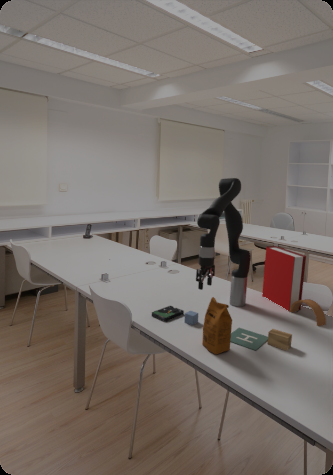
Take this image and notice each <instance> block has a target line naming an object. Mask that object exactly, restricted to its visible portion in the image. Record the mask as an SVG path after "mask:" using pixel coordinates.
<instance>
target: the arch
mask: <svg viewBox="0 0 333 475" xmlns="http://www.w3.org/2000/svg"><path fill="white" fill-rule="evenodd" d="M302 304H306V305H308V307H309V308H310V309H311V310H312V312H313V313H314V315H315V319H316V327H321V326H326V324H327V321H326V320H327V319H326V315H325V312H324V310H323V308H322V307H321V306H320V304H318V302H316V301H314V300H313V299H311V298H310V299H308V298H307V299H302V300H299V301H296V302H294V303H293V304H292V306H291V308H290V310H289V313H290V312H293V313H296V312H295V311H298V312H299V306H300V305H301V306H302Z"/></svg>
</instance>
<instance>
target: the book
mask: <svg viewBox="0 0 333 475" xmlns="http://www.w3.org/2000/svg"><path fill="white" fill-rule="evenodd" d="M264 259H265V260H264V270H263V282H262V293H263V294H261V296H262V297H263V298H264V297H266V298H268V299H269V300H268V299H267V300H268V301H270V300H271V301H272V302H271V301H270V302H271V303H273V302H274V303H273V304H275V303H276V304H278V305H280V306H282V307H283V308H285V309H286V310H285V309H284V310H285V311H287V310H288V311H287V312H290V308H291V306H292V304H293V303H294V302H296V301H299V300H303V299H302V298H303V290H304V289H303V288H304V280H305V278H304V277H305V271H306V270H305V269H306V259H307V256H306V255H304V254H301V253H297V252H295V251H292V250H289V249H286V248H283V247H279V246H277V245H269V246H267V245H266V247H265V258H264ZM266 298H265V299H266ZM276 304H275V305H276ZM278 305H277V306H278ZM280 306H279V307H280ZM301 306H302V304H301V305H300V306H299V309H298V311H301V308H302V307H301ZM282 307H281V308H282ZM283 308H282V309H283Z"/></svg>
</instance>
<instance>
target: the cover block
mask: <svg viewBox="0 0 333 475" xmlns="http://www.w3.org/2000/svg"><path fill="white" fill-rule="evenodd" d="M267 337H268V340H267V343H266V344H267V345H268V346H272V347H275V348H278V349H281V350H283V351H287V352H288V350H289V349H291V347H292V342H293V341H292V339H293V334H292V333H289V332H286V331H282V330H279V329H276V328H271V329H270V330H269V331H268V334H267Z"/></svg>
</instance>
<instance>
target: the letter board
mask: <svg viewBox="0 0 333 475" xmlns="http://www.w3.org/2000/svg"><path fill="white" fill-rule="evenodd" d="M266 342H268V335H264V334H261V333H257V332H256V331H255V332H254V331H251V330H248V329H245V328H242V327H238V328H236V329H235V330H233V331H231V340H230V343H232V344H235V345H238V346H240V347H243V348H247V349H249V350H252V351H255V352H256V351H257V350H259V349H260V348H261V347H262V346H263V345H264V344H265V343H266Z"/></svg>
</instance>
